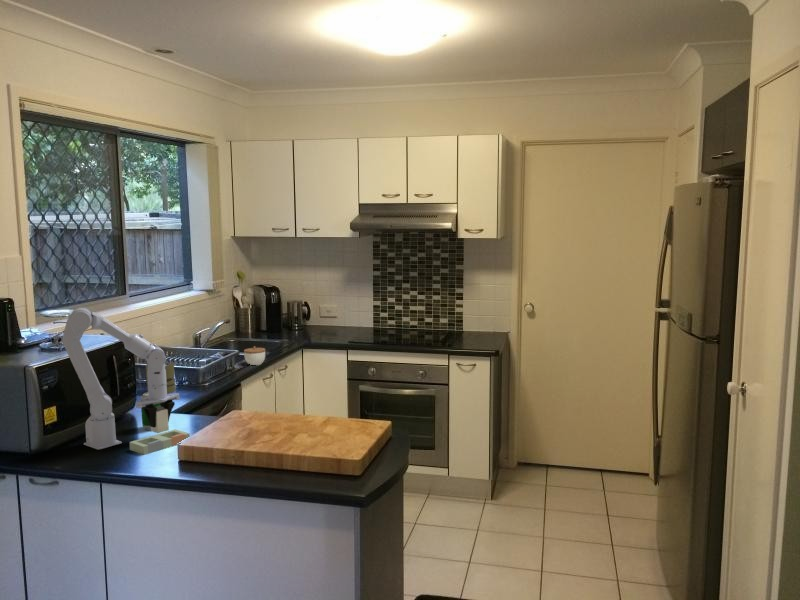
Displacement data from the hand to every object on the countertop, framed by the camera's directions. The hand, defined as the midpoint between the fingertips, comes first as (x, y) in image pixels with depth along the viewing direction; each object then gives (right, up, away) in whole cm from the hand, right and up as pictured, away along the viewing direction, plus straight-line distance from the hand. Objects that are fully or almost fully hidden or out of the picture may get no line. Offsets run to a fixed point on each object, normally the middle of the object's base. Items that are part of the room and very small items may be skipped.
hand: (159, 425), depth 219 cm
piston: (-23, +2, +66) cm, 70 cm away
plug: (0, -2, 0) cm, 2 cm away
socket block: (+3, -5, -8) cm, 10 cm away
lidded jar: (+5, +8, +121) cm, 121 cm away
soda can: (-6, -3, +12) cm, 14 cm away
